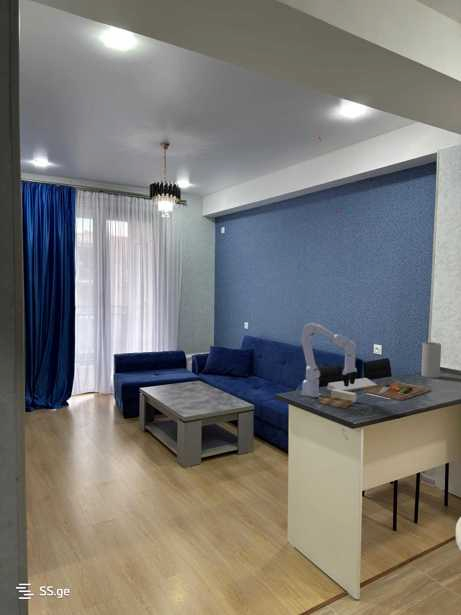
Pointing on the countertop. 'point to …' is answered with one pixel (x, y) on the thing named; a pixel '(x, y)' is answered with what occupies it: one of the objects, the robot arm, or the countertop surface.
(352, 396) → the light grey rectangular block
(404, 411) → the countertop surface
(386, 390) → the chopping board
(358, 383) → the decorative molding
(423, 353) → the cylinder vase
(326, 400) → the oak rack
